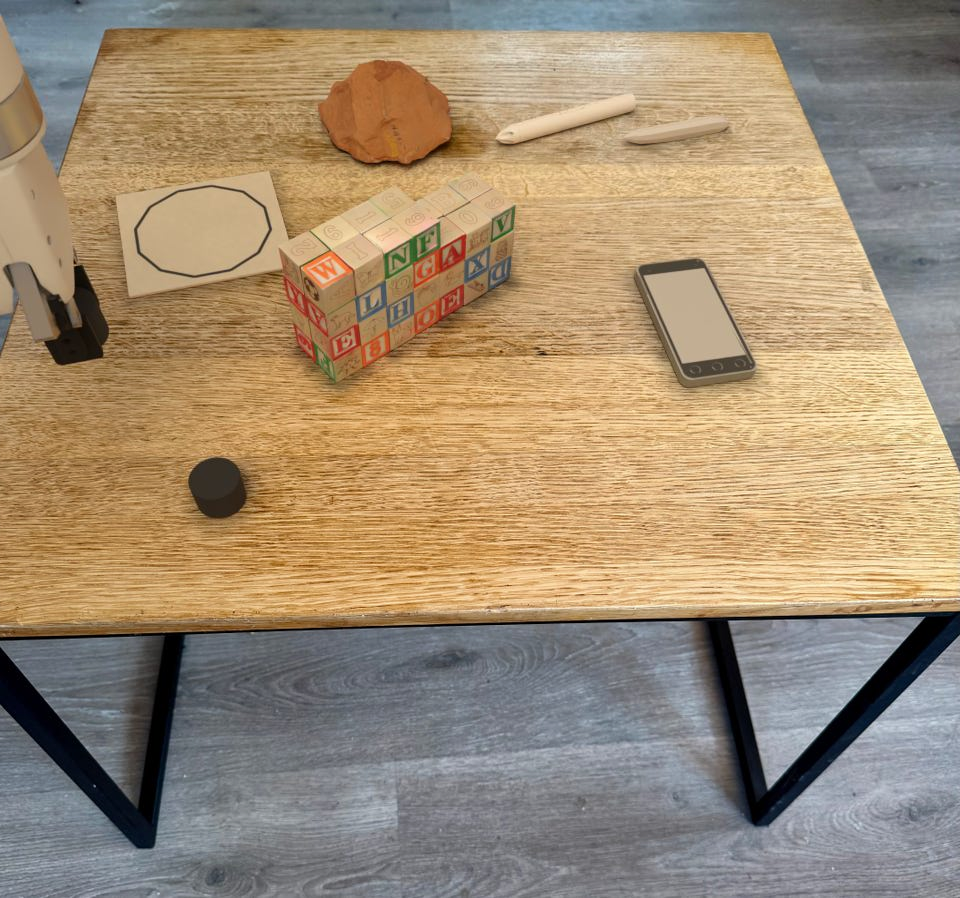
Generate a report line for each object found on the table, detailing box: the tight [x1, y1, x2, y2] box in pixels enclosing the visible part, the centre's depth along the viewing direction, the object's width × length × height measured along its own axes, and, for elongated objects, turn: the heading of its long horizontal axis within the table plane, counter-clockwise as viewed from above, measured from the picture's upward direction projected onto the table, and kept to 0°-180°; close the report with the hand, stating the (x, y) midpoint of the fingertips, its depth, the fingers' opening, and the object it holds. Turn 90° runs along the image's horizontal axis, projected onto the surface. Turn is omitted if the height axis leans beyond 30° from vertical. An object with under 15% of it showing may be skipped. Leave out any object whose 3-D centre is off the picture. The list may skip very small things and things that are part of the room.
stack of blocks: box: [279, 171, 516, 383], centre depth 79 cm, size 21×6×12 cm, turn 131°
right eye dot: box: [187, 456, 247, 519], centre depth 70 cm, size 4×4×3 cm
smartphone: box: [633, 257, 758, 388], centre depth 84 cm, size 7×1×15 cm
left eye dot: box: [47, 287, 110, 347], centre depth 62 cm, size 4×4×3 cm
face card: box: [114, 170, 290, 299], centre depth 89 cm, size 16×15×1 cm
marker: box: [495, 92, 637, 145], centre depth 100 cm, size 18×2×2 cm, turn 116°
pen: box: [621, 114, 731, 145], centre depth 101 cm, size 2×14×2 cm, turn 109°
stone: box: [317, 59, 453, 165], centre depth 97 cm, size 15×15×10 cm
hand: (78, 332), depth 63 cm, fingers closed on left eye dot, 4 cm apart
